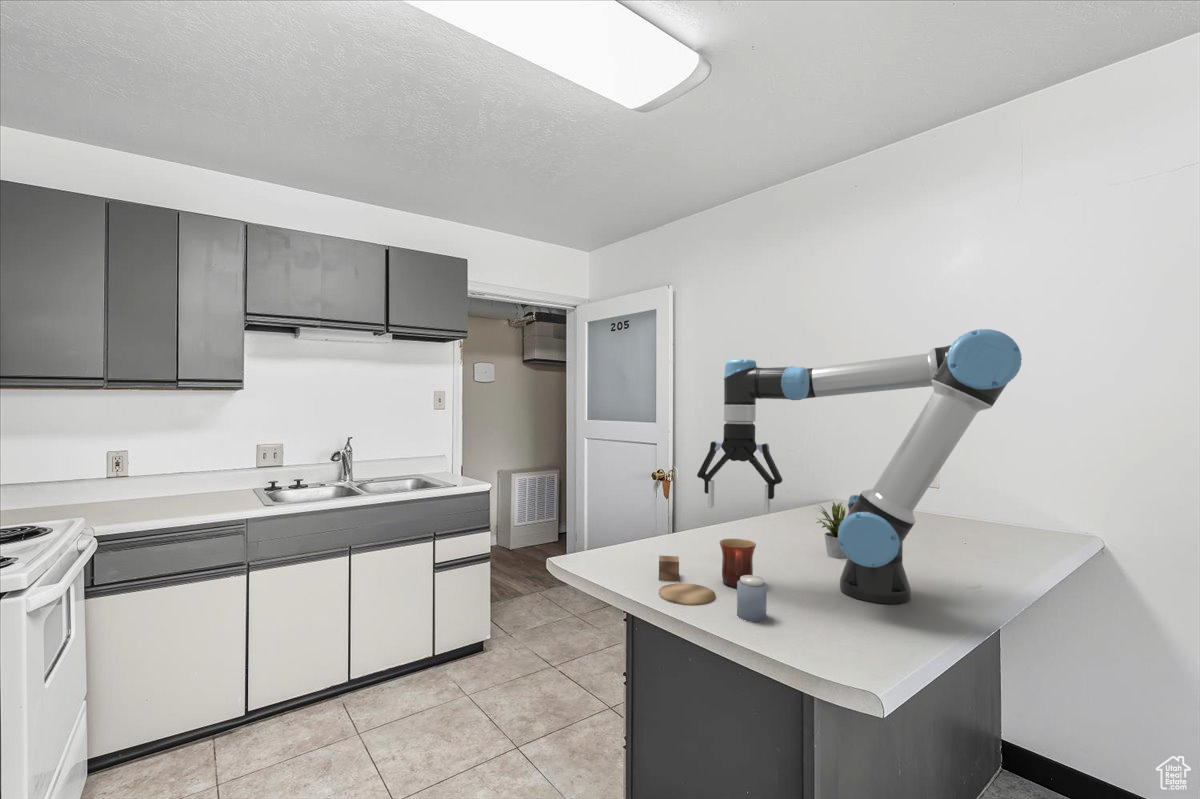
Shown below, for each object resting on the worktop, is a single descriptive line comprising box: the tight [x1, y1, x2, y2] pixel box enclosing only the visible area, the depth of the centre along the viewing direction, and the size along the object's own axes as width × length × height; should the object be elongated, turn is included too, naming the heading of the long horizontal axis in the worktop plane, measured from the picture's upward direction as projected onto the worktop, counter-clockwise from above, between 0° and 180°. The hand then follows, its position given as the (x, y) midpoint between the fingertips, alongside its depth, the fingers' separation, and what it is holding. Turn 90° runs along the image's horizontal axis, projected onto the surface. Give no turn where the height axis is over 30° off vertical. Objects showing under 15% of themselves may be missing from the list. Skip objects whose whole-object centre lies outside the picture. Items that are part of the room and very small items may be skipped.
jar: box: [736, 574, 768, 623], centre depth 117 cm, size 6×6×8 cm
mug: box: [719, 538, 757, 589], centre depth 136 cm, size 12×9×10 cm
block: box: [658, 555, 680, 582], centre depth 142 cm, size 5×5×5 cm
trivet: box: [658, 582, 716, 606], centre depth 129 cm, size 13×13×1 cm
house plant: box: [812, 501, 848, 560], centre depth 166 cm, size 14×14×16 cm
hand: (738, 509), depth 136 cm, fingers open, 13 cm apart
